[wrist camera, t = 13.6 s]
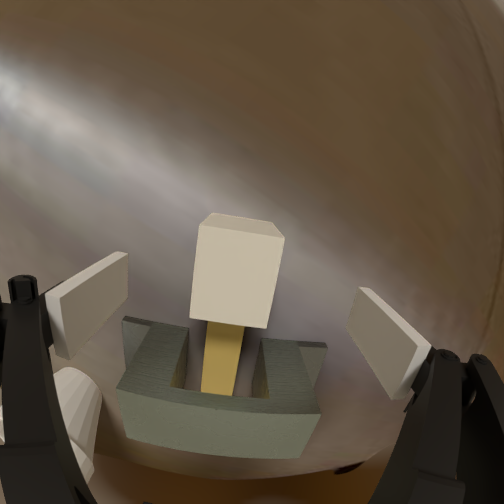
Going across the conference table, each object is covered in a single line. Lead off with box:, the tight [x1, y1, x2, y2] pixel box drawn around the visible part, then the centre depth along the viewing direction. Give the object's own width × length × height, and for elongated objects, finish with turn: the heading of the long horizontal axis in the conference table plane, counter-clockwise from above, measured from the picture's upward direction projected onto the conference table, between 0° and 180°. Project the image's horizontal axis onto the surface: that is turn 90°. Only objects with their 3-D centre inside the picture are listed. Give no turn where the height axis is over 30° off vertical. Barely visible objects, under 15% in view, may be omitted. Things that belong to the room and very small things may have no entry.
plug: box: [189, 213, 285, 396], centre depth 21 cm, size 5×20×7 cm, turn 170°
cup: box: [0, 367, 102, 484], centre depth 20 cm, size 12×12×14 cm
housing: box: [116, 316, 328, 459], centre depth 21 cm, size 20×6×10 cm, turn 81°
